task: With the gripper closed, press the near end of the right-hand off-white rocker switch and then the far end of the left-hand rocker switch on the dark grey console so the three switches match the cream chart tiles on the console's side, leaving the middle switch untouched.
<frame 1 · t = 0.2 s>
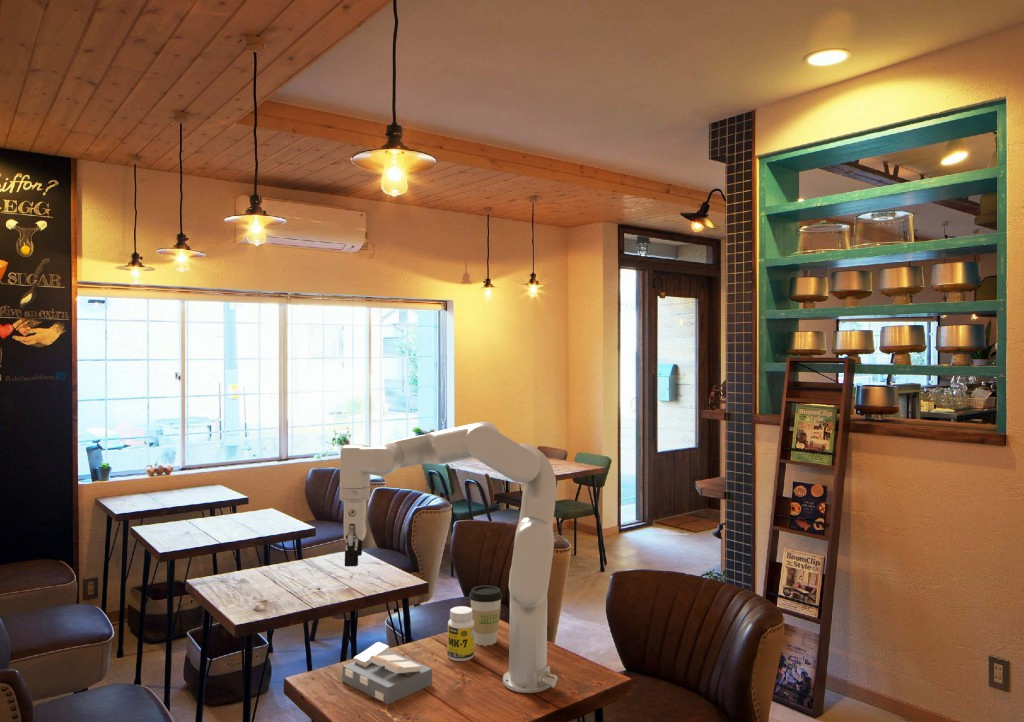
hand: (353, 560, 181), 30 cm above the table, tool pointing down, fingers open, 9 cm apart
rocker A: (403, 666, 175), point 6 cm above the table, hinge at 14.0°
coffee cup: (485, 642, 206), on the table
console: (387, 683, 179), on the table
rocker C: (371, 653, 182), point 6 cm above the table, hinge at -14.0°
supplement bottle: (460, 657, 195), on the table
rocker B: (387, 660, 179), point 6 cm above the table, hinge at 14.0°
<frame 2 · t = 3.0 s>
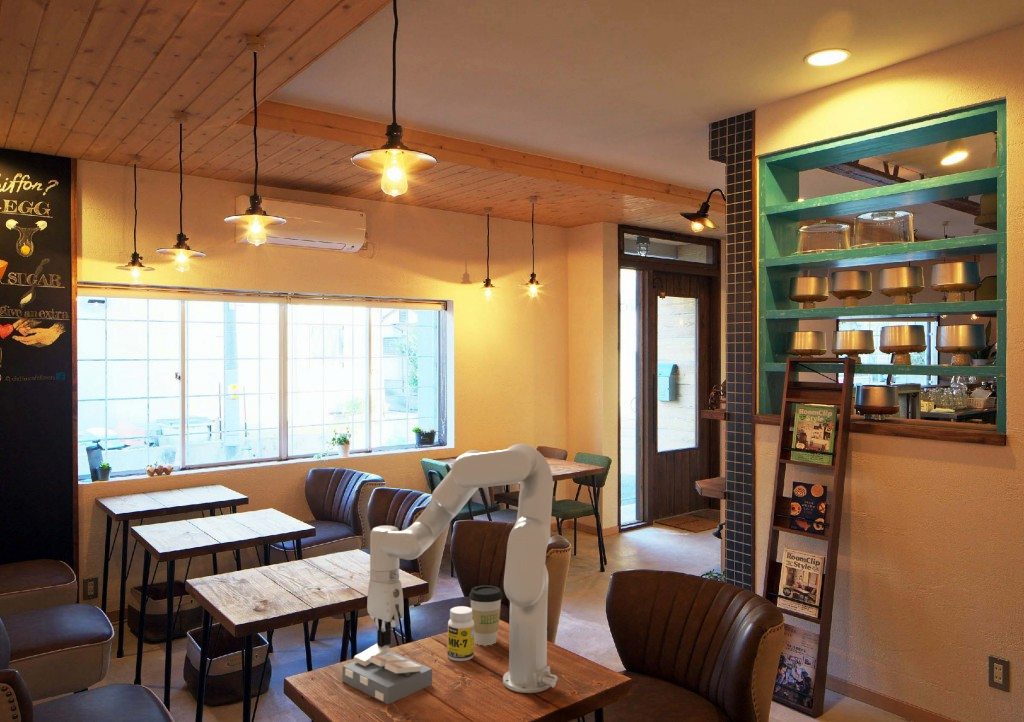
hand: (384, 644, 186), 7 cm above the table, tool pointing down, fingers closed
rocker C: (372, 653, 182), point 6 cm above the table, hinge at -10.7°, touching gripper
everything else where it was.
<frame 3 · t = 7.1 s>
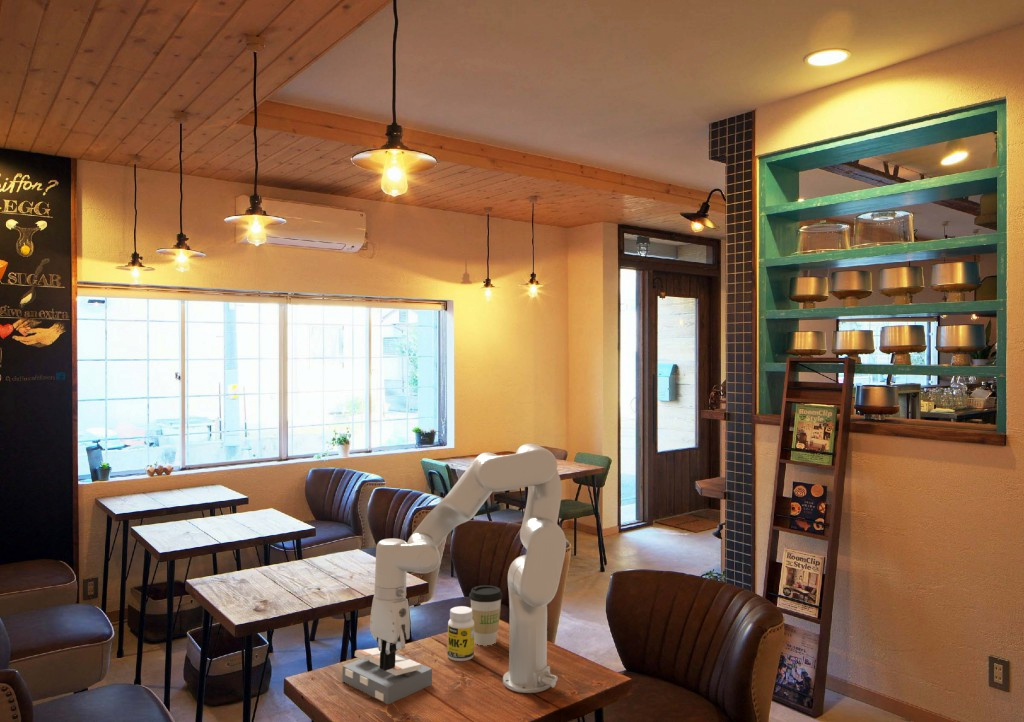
hand: (387, 667, 171), 7 cm above the table, tool pointing down, fingers closed
rocker A: (403, 666, 175), point 6 cm above the table, hinge at 7.1°, touching gripper
rocker C: (372, 653, 183), point 6 cm above the table, hinge at 9.6°
everything else where it was.
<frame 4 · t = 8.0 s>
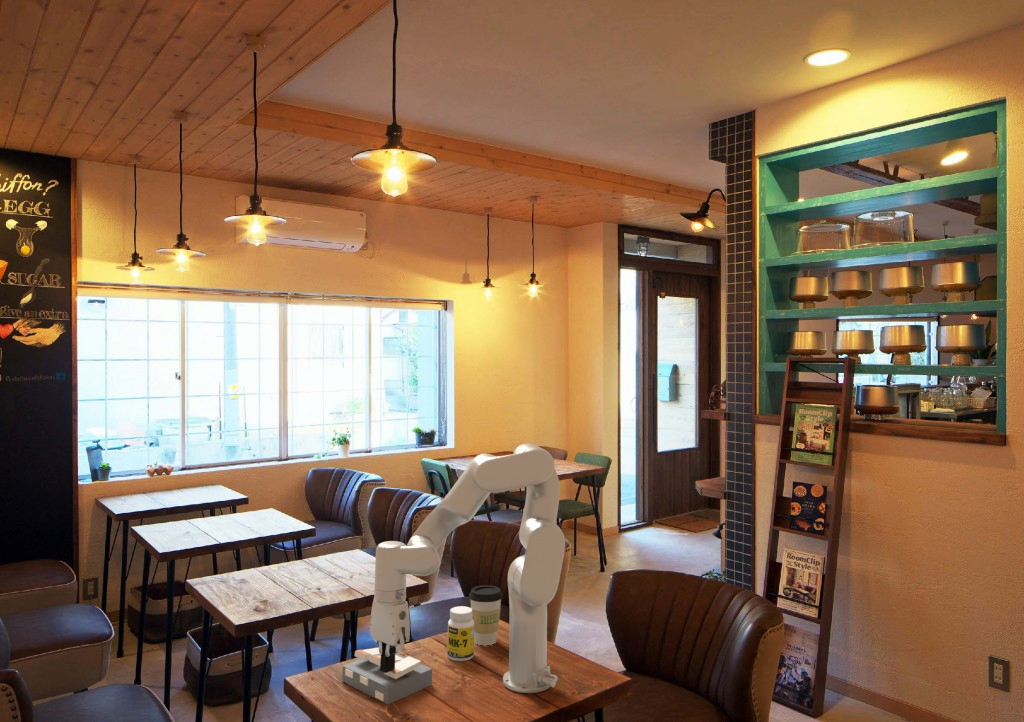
hand: (387, 670, 172), 6 cm above the table, tool pointing down, fingers closed
rocker A: (402, 667, 175), point 6 cm above the table, hinge at -5.4°, touching gripper
everything else where it was.
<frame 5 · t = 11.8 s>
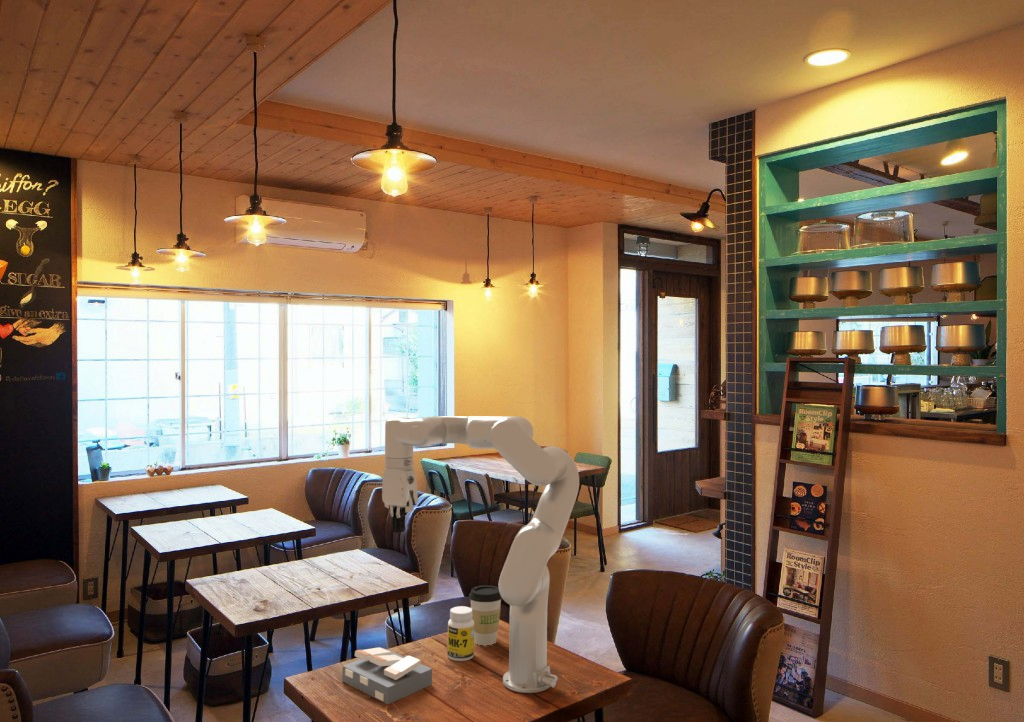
hand: (398, 531, 192), 35 cm above the table, tool pointing down, fingers closed
rocker A: (402, 667, 175), point 6 cm above the table, hinge at -8.9°
everything else where it was.
at the end: rocker A at -9° (first picture: +14°); rocker C at +10° (first picture: -14°); rocker B at +14° (first picture: +14°) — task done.
